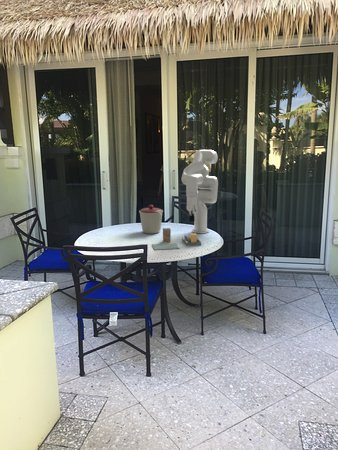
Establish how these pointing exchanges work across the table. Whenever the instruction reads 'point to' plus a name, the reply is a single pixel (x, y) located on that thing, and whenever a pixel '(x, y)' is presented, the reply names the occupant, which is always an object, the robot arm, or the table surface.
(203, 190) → the robot arm
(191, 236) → the tan orange cube block
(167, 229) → the brown rectangular block
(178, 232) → the table surface
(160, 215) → the canister
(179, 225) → the table surface
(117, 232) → the table surface
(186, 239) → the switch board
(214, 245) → the table surface
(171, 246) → the tool mat
